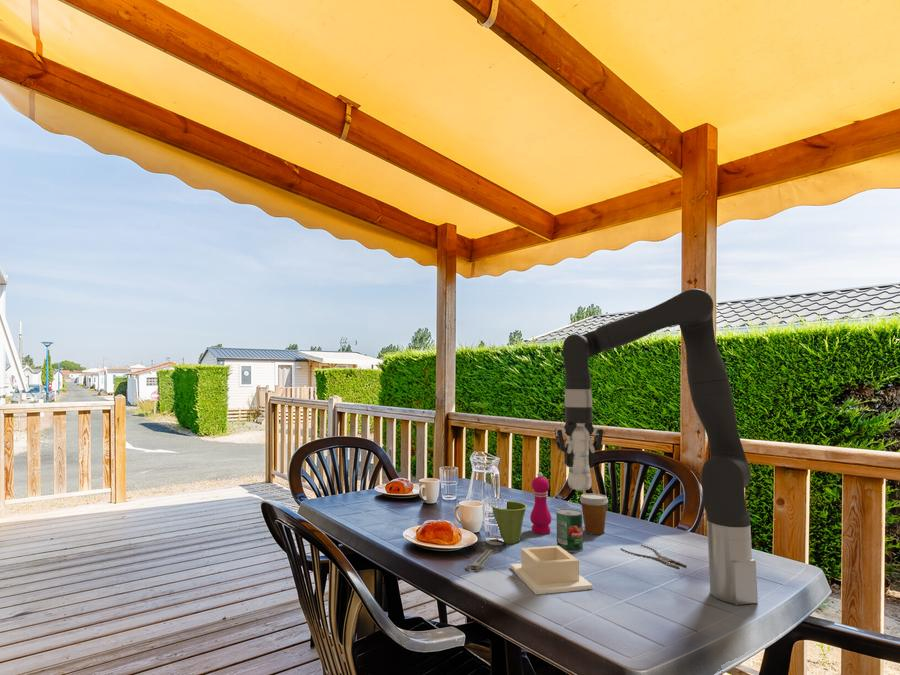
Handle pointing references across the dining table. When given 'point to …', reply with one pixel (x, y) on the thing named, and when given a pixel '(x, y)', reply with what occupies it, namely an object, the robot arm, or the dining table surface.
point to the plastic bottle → (580, 459)
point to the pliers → (660, 558)
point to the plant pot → (510, 521)
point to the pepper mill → (540, 506)
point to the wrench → (482, 559)
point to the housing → (550, 570)
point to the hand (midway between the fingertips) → (579, 466)
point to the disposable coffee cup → (594, 512)
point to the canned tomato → (569, 530)
